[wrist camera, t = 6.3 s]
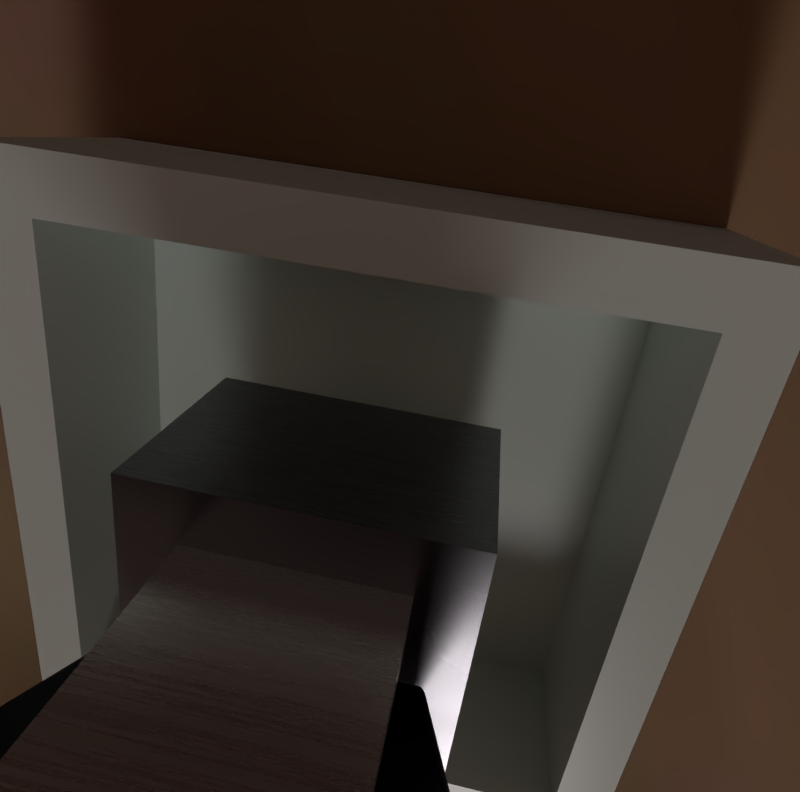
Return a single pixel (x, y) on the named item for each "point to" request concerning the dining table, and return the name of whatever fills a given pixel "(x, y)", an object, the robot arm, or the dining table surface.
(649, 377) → the bin
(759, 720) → the dining table surface
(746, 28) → the dining table surface
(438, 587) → the grey square peg
